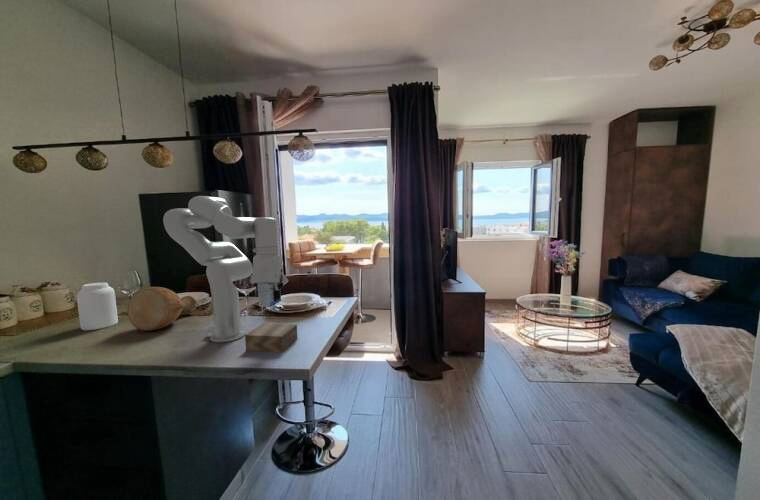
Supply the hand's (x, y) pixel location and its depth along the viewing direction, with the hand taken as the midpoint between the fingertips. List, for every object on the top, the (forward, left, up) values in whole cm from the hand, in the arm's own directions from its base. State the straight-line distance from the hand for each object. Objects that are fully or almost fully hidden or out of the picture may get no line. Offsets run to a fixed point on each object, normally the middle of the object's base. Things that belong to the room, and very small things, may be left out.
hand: (270, 299), depth 106 cm
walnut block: (0, 0, -17) cm, 17 cm away
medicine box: (0, 0, -2) cm, 2 cm away
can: (-92, +15, -17) cm, 95 cm away
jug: (-61, +20, -17) cm, 67 cm away
